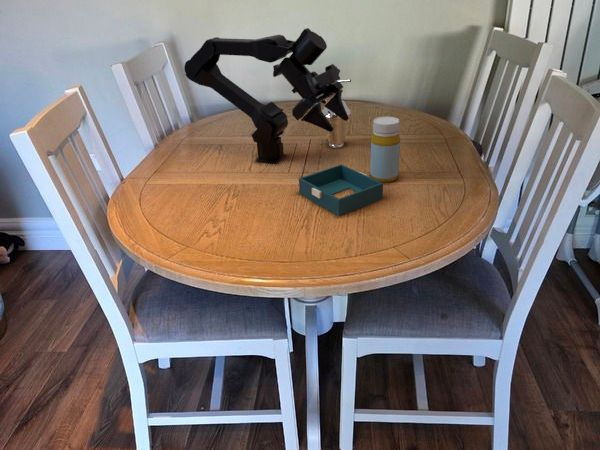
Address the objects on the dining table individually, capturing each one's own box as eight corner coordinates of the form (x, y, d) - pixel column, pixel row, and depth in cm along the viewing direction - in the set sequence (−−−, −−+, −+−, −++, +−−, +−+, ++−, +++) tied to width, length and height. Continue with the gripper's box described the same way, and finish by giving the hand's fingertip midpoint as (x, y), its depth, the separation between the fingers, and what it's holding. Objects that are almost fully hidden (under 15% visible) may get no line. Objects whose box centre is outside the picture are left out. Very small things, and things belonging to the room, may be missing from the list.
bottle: (402, 181, 121) (406, 122, 114) (376, 185, 120) (378, 126, 112) (391, 170, 127) (394, 114, 119) (366, 174, 126) (367, 118, 118)
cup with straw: (342, 138, 150) (341, 72, 140) (356, 147, 143) (357, 78, 133) (317, 143, 147) (315, 76, 137) (330, 152, 140) (329, 82, 130)
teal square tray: (297, 194, 118) (296, 179, 116) (343, 177, 124) (343, 163, 123) (336, 217, 107) (336, 201, 105) (384, 198, 113) (385, 182, 111)
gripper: (300, 63, 110) (345, 116, 111) (336, 48, 124) (375, 95, 125) (274, 95, 117) (315, 144, 118) (310, 77, 131) (347, 121, 132)
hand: (340, 125), depth 123 cm, fingers open, 9 cm apart
